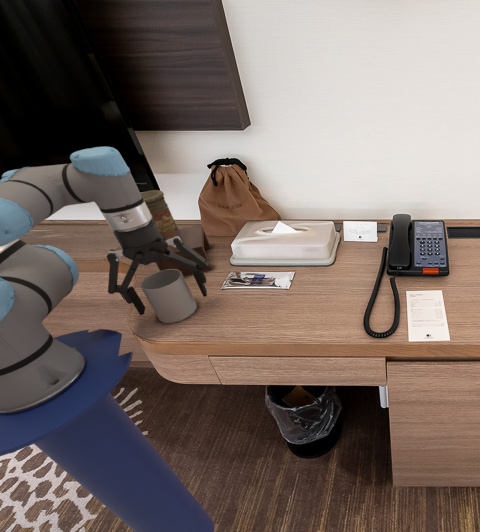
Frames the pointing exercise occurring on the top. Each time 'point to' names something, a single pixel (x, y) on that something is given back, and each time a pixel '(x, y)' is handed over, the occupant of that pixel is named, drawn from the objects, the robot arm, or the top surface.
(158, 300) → the cup
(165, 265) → the brown wooden block
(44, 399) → the robot arm
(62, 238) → the top surface
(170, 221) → the container
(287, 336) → the top surface
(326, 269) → the top surface
